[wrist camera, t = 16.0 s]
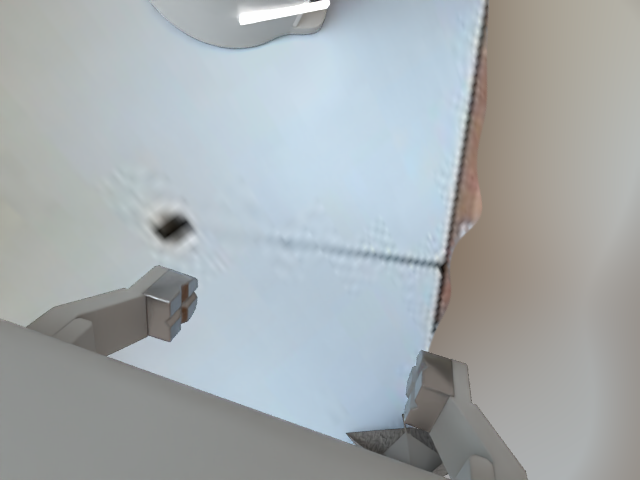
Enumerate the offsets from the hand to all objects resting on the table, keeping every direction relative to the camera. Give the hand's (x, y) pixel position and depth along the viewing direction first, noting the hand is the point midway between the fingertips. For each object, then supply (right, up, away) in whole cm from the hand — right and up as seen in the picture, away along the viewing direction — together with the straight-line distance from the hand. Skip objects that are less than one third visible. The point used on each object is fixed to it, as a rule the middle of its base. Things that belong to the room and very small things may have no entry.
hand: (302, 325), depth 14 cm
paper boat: (+9, -17, +28) cm, 33 cm away
